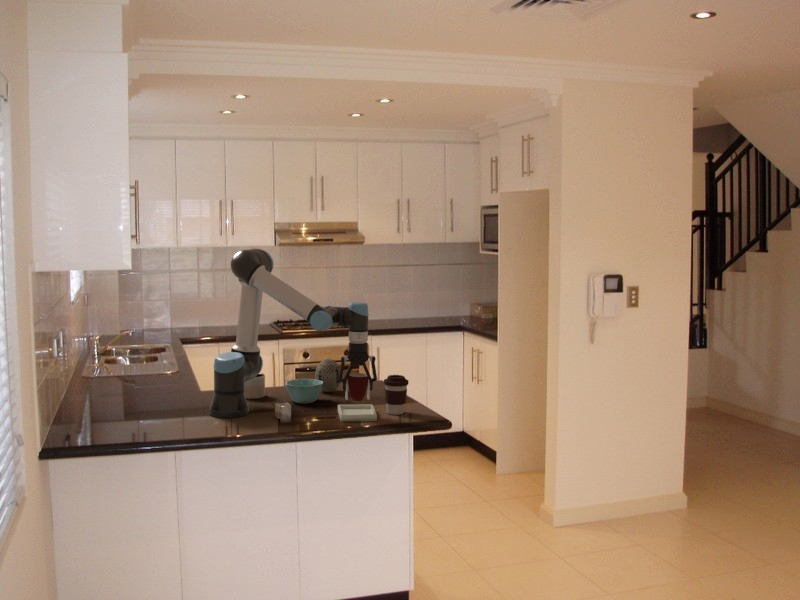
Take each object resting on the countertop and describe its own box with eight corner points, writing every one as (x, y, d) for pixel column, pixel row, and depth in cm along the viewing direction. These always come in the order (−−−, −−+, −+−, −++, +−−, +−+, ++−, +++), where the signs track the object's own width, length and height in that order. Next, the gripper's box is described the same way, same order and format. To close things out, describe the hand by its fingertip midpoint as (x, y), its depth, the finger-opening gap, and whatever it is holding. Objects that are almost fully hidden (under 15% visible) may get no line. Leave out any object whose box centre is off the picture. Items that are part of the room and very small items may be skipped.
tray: (340, 421, 316) (340, 415, 315) (337, 410, 332) (337, 404, 332) (376, 421, 318) (377, 414, 317) (372, 410, 334) (372, 404, 334)
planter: (235, 398, 349) (235, 376, 348) (245, 393, 360) (245, 371, 359) (258, 400, 347) (258, 378, 346) (268, 395, 357) (269, 373, 356)
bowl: (279, 403, 342) (279, 384, 342) (294, 395, 357) (295, 377, 356) (313, 407, 338) (314, 387, 337) (328, 399, 353) (328, 380, 352)
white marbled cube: (278, 418, 317) (278, 406, 317) (275, 415, 322) (275, 403, 321) (290, 417, 319) (291, 405, 319) (287, 414, 324) (287, 402, 323)
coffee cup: (379, 410, 334) (380, 374, 332) (402, 409, 338) (403, 373, 336) (388, 416, 325) (388, 379, 323) (411, 415, 328) (412, 378, 327)
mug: (348, 395, 329) (349, 371, 328) (368, 396, 329) (369, 372, 328) (346, 401, 319) (347, 376, 318) (367, 402, 319) (368, 377, 318)
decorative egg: (330, 396, 358) (331, 362, 356) (309, 392, 364) (309, 359, 362) (346, 391, 368) (346, 358, 366) (325, 388, 374) (325, 355, 372)
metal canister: (280, 422, 312) (280, 407, 311) (280, 419, 316) (280, 404, 315) (291, 422, 312) (291, 407, 312) (290, 419, 316) (291, 404, 316)
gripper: (332, 343, 317) (331, 401, 319) (385, 343, 320) (384, 400, 322) (331, 340, 324) (330, 397, 326) (383, 340, 327) (382, 396, 329)
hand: (357, 398), depth 324 cm, fingers closed on mug, 8 cm apart
